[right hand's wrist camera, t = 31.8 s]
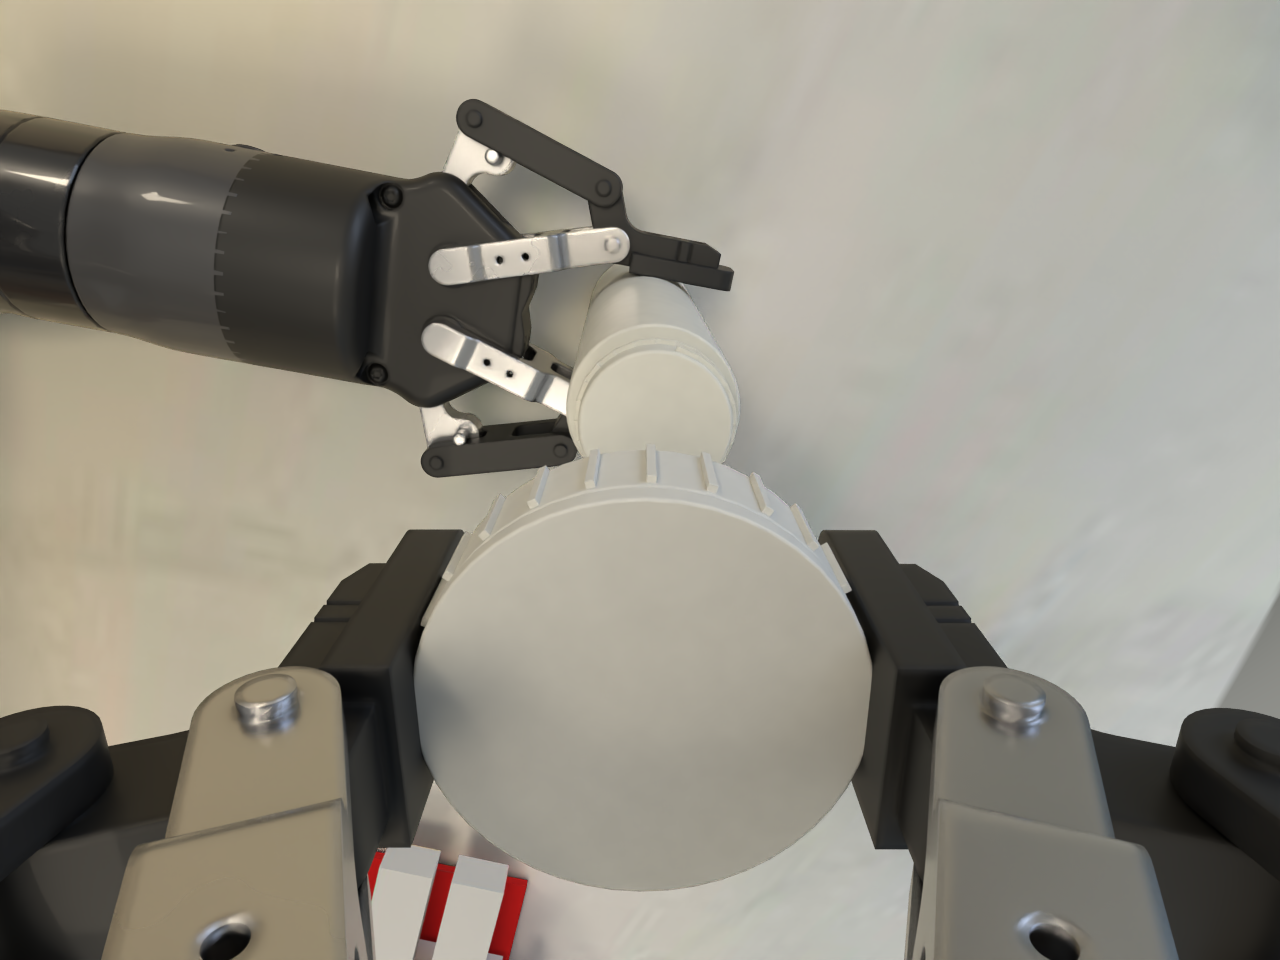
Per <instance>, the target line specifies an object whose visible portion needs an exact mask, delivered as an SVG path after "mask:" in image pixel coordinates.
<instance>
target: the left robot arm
mask: <svg viewBox="0 0 1280 960" xmlns="http://www.w3.org/2000/svg"><path fill="white" fill-rule="evenodd" d="M456 121H457V125H458V127H459V131H458V133H457V136H456V138H455V141H454V143H453V146H452V148H451V151H450V153H449V156H448V158H447V161H446V163H445V166H444V168H443V171H442V172H434V173H430V174H427V175H425V176H422V177H419V178H415V179H403V178H397V177H392V176H387V175H381V174H376V173H371V172H366V171H361V170H356V169H350V168H345V167H340V166H335V165H330V164H324V163H319V162H314V161H309V160H304V159H298V158H293V157H288V156H282V155H277V154H273V153H268V152H265V151H263V150H261V149H258V148H255V147H251V146H247V145H242V144H236V145H226V144H221V143H216V142H211V141H206V140H199V139H193V138H182V137H161V136H146V135H138V134H131V133H125V132H120V131H115V130H110V129H105V128H100V127H95V126H89V125H84V124H79V123H74V122H69V121H64V120H58V119H53V118H48V117H42V116H36V115H31V114H25V113H20V112H14V111H7V110H0V314H4V313H13V314H17V315H22V316H26V317H30V318H35V319H41V320H46V321H51V322H57V323H63V324H68V325H74V326H79V327H85V328H90V329H96V330H102V331H107V332H114V333H118V334H123V335H127V336H131V337H134V338H137V339H141V340H144V341H147V342H150V343H153V344H156V345H159V346H162V347H166V348H169V349H173V350H177V351H182V352H187V353H192V354H198V355H203V356H208V357H214V358H219V359H225V360H231V361H237V362H242V363H248V364H253V365H259V366H264V367H270V368H276V369H282V370H287V371H293V372H298V373H304V374H310V375H315V376H321V377H327V378H332V379H338V380H343V381H349V382H354V383H360V384H366V385H373V386H379V387H384V388H387V389H389V390H391V391H393V392H395V393H397V394H398V395H400V396H401V397H403V398H404V399H405V400H407V401H408V402H409V403H411V404H413V405H415V406H418V407H420V411H421V416H422V421H423V426H424V431H425V436H426V441H427V450H426V451H425V452H424V453H423V455H422V457H421V466H422V468H423V470H424V471H425V472H426V473H427V474H428V475H430V476H432V477H437V478H438V477H449V476H460V475H470V474H480V473H490V472H500V471H510V470H521V469H531V468H541V467H543V466H545V465H546V466H547V467H551V466H560V465H562V464H566V463H569V462H572V461H573V460H574V458H575V456H576V453H577V451H578V450H577V448H576V446H575V444H574V442H573V440H572V437H571V435H570V432H569V428H568V423H567V415H566V400H567V394H568V388H569V384H570V380H571V376H572V372H573V368H572V367H570V366H568V365H566V364H564V363H562V362H561V361H559V360H558V359H556V357H555V356H553V355H552V354H551V353H549V352H547V351H545V350H543V349H541V348H539V347H537V346H536V345H534V344H532V343H530V342H529V341H530V334H531V321H530V313H529V304H530V302H531V300H532V297H533V295H534V293H535V290H536V288H537V284H538V277H539V273H546V272H554V271H560V270H564V269H569V268H576V267H584V266H592V265H600V264H608V263H613V264H619V265H624V266H629V273H632V274H637V275H642V276H648V277H654V278H659V279H664V280H669V281H674V282H679V283H685V284H690V285H695V286H701V287H706V288H711V289H716V290H722V291H730V289H731V284H732V280H733V275H734V271H733V270H732V269H731V268H729V267H726V266H722V265H719V262H720V257H721V254H720V253H719V252H718V251H717V250H715V249H714V248H712V247H711V246H709V245H708V244H706V243H702V242H697V241H692V240H687V239H681V238H676V237H671V236H666V235H661V234H655V233H650V232H645V231H641V230H639V229H637V228H635V227H634V226H633V225H632V224H631V223H630V222H629V220H628V218H627V215H626V210H625V204H624V198H623V192H622V191H623V185H622V181H621V179H620V177H619V176H618V175H617V174H616V173H614V172H613V171H611V170H609V169H607V168H605V167H604V166H602V165H600V164H598V163H596V162H594V161H592V160H591V159H589V158H587V157H585V156H583V155H581V154H579V153H578V152H576V151H574V150H572V149H570V148H568V147H566V146H565V145H563V144H561V143H559V142H557V141H555V140H554V139H552V138H550V137H548V136H546V135H544V134H542V133H541V132H539V131H537V130H535V129H533V128H531V127H529V126H528V125H526V124H524V123H522V122H520V121H518V120H516V119H515V118H513V117H511V116H509V115H507V114H505V113H504V112H502V111H500V110H498V109H496V108H494V107H492V106H490V105H488V104H486V103H484V102H482V101H480V100H477V99H470V100H467V101H465V102H463V103H462V104H461V105H460V107H459V108H458V111H457V114H456ZM516 163H518V164H520V165H522V166H524V167H526V168H528V169H529V170H531V171H533V172H535V173H537V174H539V175H541V176H543V177H545V178H546V179H548V180H550V181H552V182H554V183H556V184H558V185H560V186H561V187H563V188H565V189H567V190H569V191H571V192H573V193H575V194H577V195H578V196H580V197H582V198H584V199H586V200H588V204H589V209H590V215H591V220H592V226H590V227H582V228H574V229H562V230H553V231H545V232H537V233H529V234H521V235H520V234H519V233H518V232H517V231H516V230H515V229H514V228H513V226H512V225H511V224H510V223H509V222H508V221H507V220H506V219H505V218H504V217H503V216H502V215H501V214H500V213H499V212H498V211H497V210H496V209H495V208H494V207H493V206H492V205H491V204H490V203H489V201H488V200H487V199H486V198H485V197H484V196H483V195H482V194H481V193H480V192H479V191H478V190H477V189H476V188H475V187H474V186H473V185H472V182H473V180H474V179H475V178H476V177H477V176H478V175H480V174H482V173H488V174H491V175H495V176H503V175H507V174H509V173H510V172H511V171H512V170H513V169H514V167H515V165H516ZM522 356H523V357H524V358H522ZM510 371H512V372H513V374H512V375H511V374H509V372H510ZM488 382H490V383H492V384H494V385H496V386H498V387H500V388H502V389H504V390H506V391H508V392H510V393H512V394H514V395H516V396H518V397H520V398H522V399H525V400H527V401H530V402H538V403H541V404H543V405H545V406H547V407H549V408H551V409H553V410H555V411H557V412H559V413H560V415H559V417H558V418H557V419H549V420H539V421H529V422H519V423H509V424H499V425H489V426H482V423H481V421H480V419H479V418H478V417H477V416H475V415H473V414H470V413H461V412H458V411H457V410H455V409H454V408H453V407H452V406H451V405H450V403H449V401H451V400H453V399H455V398H457V397H459V396H461V395H463V394H465V393H467V392H469V391H471V390H474V389H476V388H478V387H480V386H482V385H484V384H486V383H488Z"/></svg>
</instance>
